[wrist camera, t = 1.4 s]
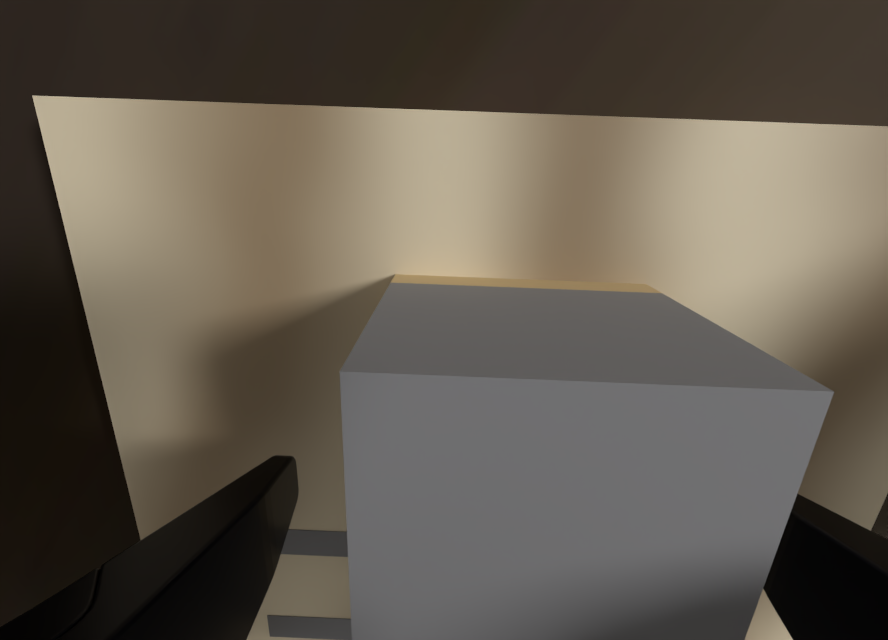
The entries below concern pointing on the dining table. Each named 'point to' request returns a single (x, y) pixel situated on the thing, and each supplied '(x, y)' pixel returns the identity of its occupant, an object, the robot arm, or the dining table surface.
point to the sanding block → (563, 464)
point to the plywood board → (440, 254)
